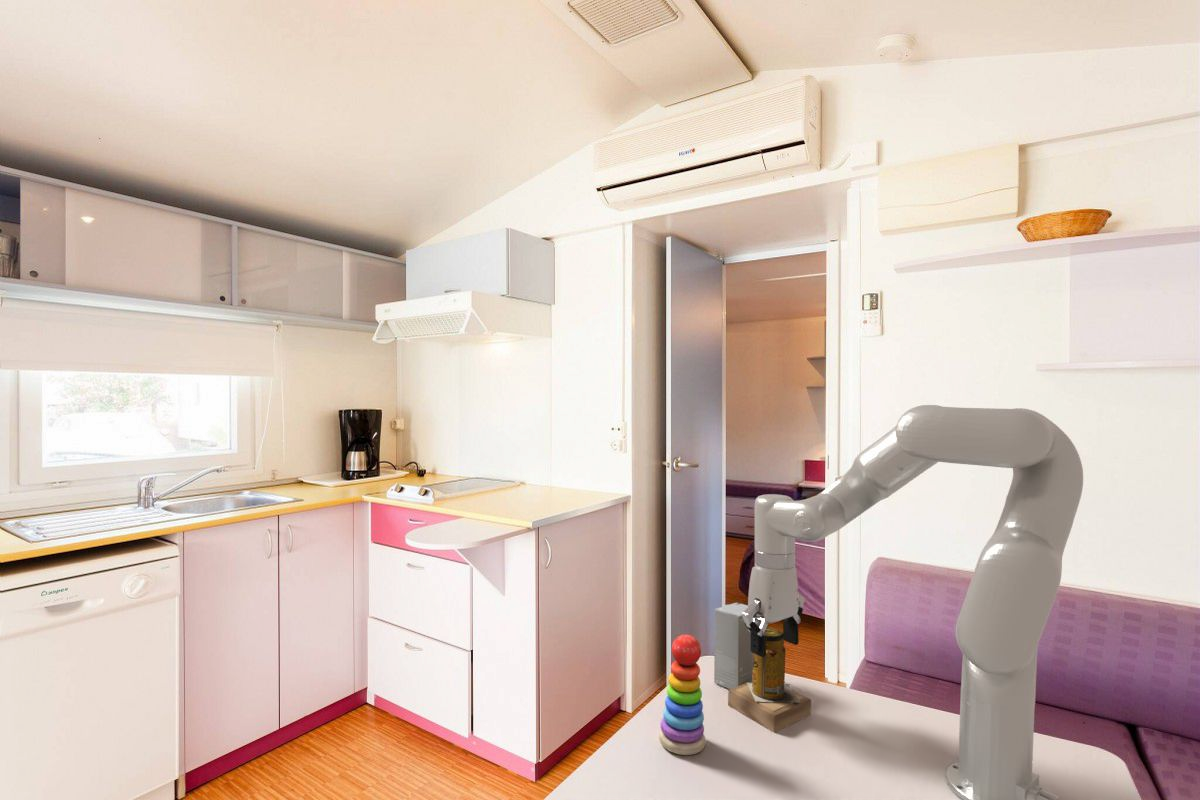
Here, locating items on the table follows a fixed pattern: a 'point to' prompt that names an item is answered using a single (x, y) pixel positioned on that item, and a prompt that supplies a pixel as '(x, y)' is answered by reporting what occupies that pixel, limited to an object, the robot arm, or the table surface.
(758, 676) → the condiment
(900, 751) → the table surface
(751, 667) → the skincare box
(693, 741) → the stacking toy
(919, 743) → the table surface
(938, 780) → the table surface
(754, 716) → the base
